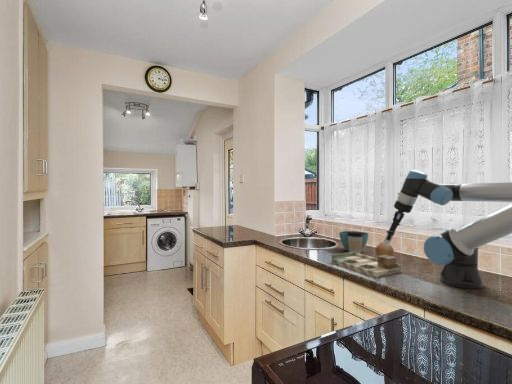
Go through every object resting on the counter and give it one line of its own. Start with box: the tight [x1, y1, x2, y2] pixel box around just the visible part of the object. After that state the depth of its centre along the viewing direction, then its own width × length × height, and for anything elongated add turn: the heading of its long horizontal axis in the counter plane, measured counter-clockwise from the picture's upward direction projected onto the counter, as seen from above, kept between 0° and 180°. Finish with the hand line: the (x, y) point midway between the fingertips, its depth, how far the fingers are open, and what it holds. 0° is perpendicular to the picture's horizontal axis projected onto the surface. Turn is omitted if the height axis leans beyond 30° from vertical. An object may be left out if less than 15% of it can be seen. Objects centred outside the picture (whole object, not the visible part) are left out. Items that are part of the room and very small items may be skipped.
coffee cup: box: [347, 230, 363, 254], centre depth 167 cm, size 9×9×15 cm
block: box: [377, 255, 397, 269], centre depth 136 cm, size 6×6×5 cm
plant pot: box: [338, 230, 369, 253], centre depth 182 cm, size 18×18×12 cm
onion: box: [375, 242, 395, 257], centre depth 160 cm, size 10×10×10 cm
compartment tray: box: [331, 251, 402, 279], centre depth 144 cm, size 29×18×4 cm, turn 29°
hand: (387, 240), depth 137 cm, fingers open, 13 cm apart
